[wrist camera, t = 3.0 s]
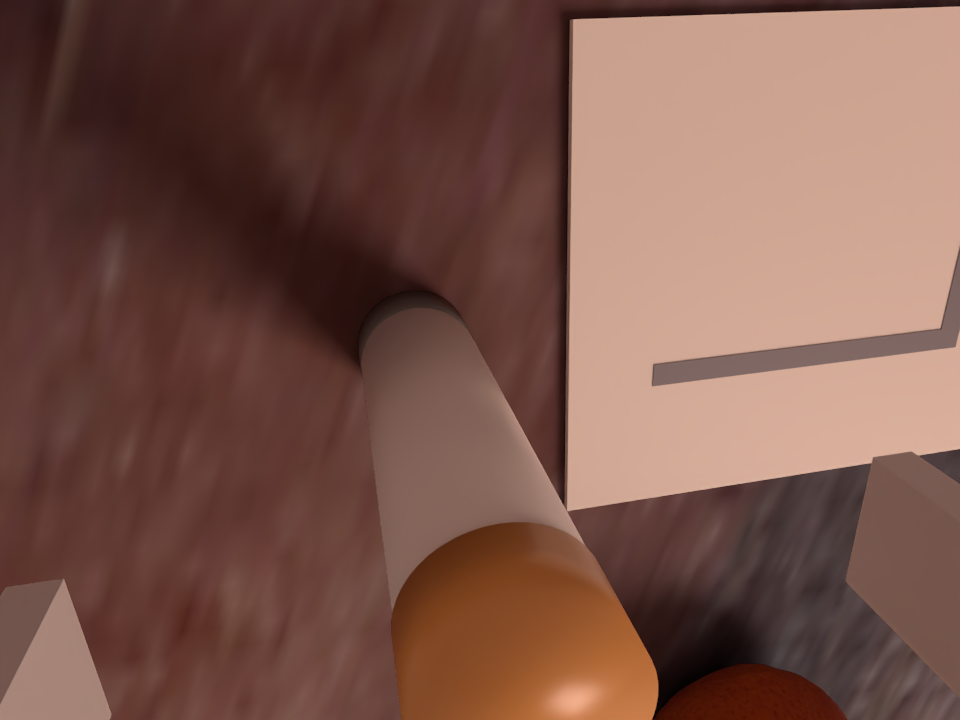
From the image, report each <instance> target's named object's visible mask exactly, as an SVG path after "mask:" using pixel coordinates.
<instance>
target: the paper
mask: <svg viewBox="0 0 960 720" xmlns="http://www.w3.org/2000/svg"><path fill="white" fill-rule="evenodd" d="M956 449H960V7H930V8H900V9H870V10H840V11H810V12H780V13H749V14H719V15H689V16H659V17H629V18H599V19H572V20H570V39H569V133H568V227H567V322H566V416H565V508H566V510H567V511H571V510H577V509H583V508H590V507H596V506H602V505H609V504H615V503H621V502H628V501H634V500H640V499H646V498H653V497H659V496H665V495H672V494H678V493H684V492H691V491H697V490H703V489H710V488H716V487H722V486H728V485H735V484H741V483H747V482H754V481H760V480H766V479H773V478H779V477H785V476H792V475H798V474H804V473H810V472H817V471H823V470H829V469H836V468H842V467H848V466H855V465H861V464H867V463H872V459H873V457H878V456H884V455H891V454H898V453H904V452H911V451H912V452H913V453H915V454H916V455H924V454H930V453H937V452H943V451H949V450H956Z"/></svg>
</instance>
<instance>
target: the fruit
mask: <svg viewBox="0 0 960 720" xmlns="http://www.w3.org/2000/svg"><path fill="white" fill-rule="evenodd" d="M653 720H847V718H846V716H845V715H844V713H843V712H842V711H841V709H840V708H839V707H838V705H837V704H836V703H835V702H834V701H833V700H832V699H831V698H830V697H829V696H828V695H827V694H826V693H825V692H824V691H823V690H822V689H821V688H819V687H818V686H816V685H815V684H813V683H812V682H810V681H808V680H807V679H805V678H804V677H802V676H800V675H798V674H795V673H792V672H789V671H785V670H780V669H777V668H774V667H771V666H767V665H763V664H737V665H734V666H730V667H727V668H723V669H720V670H717V671H715V672H713V673H711V674H709V675H706V676H704V677H702V678H701V679H699V680H697V681H695V682H693V683H691V684H690V685H688V686H686V687H685V688H683V689H682V690H680V691H679V692H678V693H676V694H675V695H674V696H673V697H672V698H671V699H670V700H669V701H668V702H667V703H666V704H665V705H664V706H663V707H662V709H661V710H660V711H659V712H658V713H657V715H656V716H655V718H654V719H653Z"/></svg>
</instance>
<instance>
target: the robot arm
mask: <svg viewBox="0 0 960 720" xmlns="http://www.w3.org/2000/svg"><path fill="white" fill-rule="evenodd" d="M846 582H847V583H848V584H849V585H850V586H851V587H852V588H853V589H854V590H855V592H856V593H857V594H858V595H859V596H860V597H861V598H862V599H863V600H864V601H865V602H866V603H867V604H868V605H869V606H870V607H871V608H872V609H873V610H874V611H875V612H876V613H877V614H878V615H879V616H880V617H881V618H882V619H883V620H884V621H885V622H886V623H887V624H888V625H889V626H890V627H891V628H892V629H893V630H894V631H895V632H896V633H897V634H898V635H899V636H900V637H901V638H902V639H903V640H904V641H905V643H906V644H907V645H908V646H909V647H910V648H911V649H912V650H913V651H914V652H915V653H916V654H917V655H918V656H919V657H920V658H921V659H922V660H923V661H924V662H925V663H926V664H927V665H928V666H929V667H930V668H931V669H932V670H933V671H934V672H935V673H936V674H937V675H938V676H939V677H940V678H941V679H942V680H943V681H944V682H945V683H946V684H947V685H948V686H949V687H950V688H951V689H952V690H953V691H954V692H955V694H956V695H957V696H958V697H959V698H960V484H959V483H957V482H956V481H954V480H953V479H951V478H950V477H948V476H947V475H946V474H944V473H943V472H941V471H940V470H938V469H937V468H935V467H934V466H932V465H931V464H929V463H928V462H926V461H925V460H923V459H922V458H921V457H919V456H918V455H916V454H915V453H913V452H912V451H911V452H904V453H898V454H891V455H884V456H878V457H873V459H872V464H871V468H870V473H869V477H868V482H867V486H866V491H865V495H864V500H863V504H862V509H861V513H860V518H859V522H858V527H857V532H856V536H855V541H854V545H853V550H852V554H851V559H850V563H849V568H848V572H847V577H846ZM110 717H111V712H110V709H109V706H108V703H107V700H106V697H105V695H104V692H103V689H102V686H101V683H100V680H99V678H98V675H97V672H96V669H95V666H94V663H93V660H92V658H91V655H90V652H89V649H88V646H87V643H86V641H85V638H84V635H83V632H82V629H81V626H80V623H79V621H78V618H77V615H76V612H75V609H74V606H73V604H72V601H71V598H70V595H69V592H68V589H67V586H66V584H65V581H64V579H59V580H52V581H45V582H39V583H32V584H25V585H19V586H12V587H6V588H5V590H4V591H3V593H2V595H1V596H0V720H110Z"/></svg>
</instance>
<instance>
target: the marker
mask: <svg viewBox="0 0 960 720" xmlns="http://www.w3.org/2000/svg"><path fill="white" fill-rule="evenodd" d="M358 351H359V359H360V368H361V374H362V378H363V386H364V394H365V402H366V410H367V418H368V426H369V434H370V442H371V450H372V458H373V466H374V474H375V482H376V490H377V498H378V506H379V514H380V521H381V529H382V537H383V545H384V553H385V561H386V569H387V577H388V585H389V593H390V601H391V609H392V619H391V636H392V644H393V652H394V661H395V669H396V677H397V686H398V694H399V702H400V711H401V719H402V720H652V718H653V715H654V712H655V709H656V705H657V699H658V679H657V673H656V669H655V667H654V664H653V662H652V659H651V658H650V656H649V654H648V652H647V650H646V648H645V647H644V645H643V643H642V641H641V639H640V638H639V636H638V634H637V632H636V630H635V629H634V627H633V625H632V623H631V621H630V619H629V618H628V616H627V614H626V612H625V610H624V609H623V607H622V605H621V603H620V601H619V600H618V598H617V596H616V594H615V592H614V590H613V589H612V587H611V585H610V583H609V581H608V580H607V578H606V576H605V574H604V572H603V570H602V569H601V567H600V565H599V563H598V562H597V560H596V558H595V557H594V555H593V554H592V553H591V552H590V550H589V549H588V548H587V547H586V546H585V544H584V542H583V540H582V539H581V537H580V535H579V533H578V531H577V529H576V528H575V526H574V524H573V522H572V520H571V518H570V517H569V515H568V513H567V511H566V509H565V507H564V505H563V504H562V502H561V500H560V498H559V496H558V494H557V493H556V491H555V489H554V487H553V485H552V483H551V482H550V480H549V478H548V476H547V474H546V472H545V471H544V469H543V467H542V465H541V463H540V461H539V460H538V458H537V456H536V454H535V452H534V450H533V449H532V447H531V445H530V443H529V441H528V439H527V438H526V436H525V434H524V432H523V430H522V428H521V426H520V425H519V423H518V421H517V419H516V417H515V415H514V414H513V412H512V410H511V408H510V406H509V404H508V403H507V401H506V399H505V397H504V395H503V393H502V392H501V390H500V388H499V386H498V384H497V382H496V381H495V379H494V377H493V375H492V373H491V371H490V370H489V368H488V366H487V364H486V362H485V360H484V359H483V357H482V355H481V353H480V351H479V349H478V348H477V346H476V344H475V342H474V339H473V337H472V335H471V333H470V331H469V330H468V328H467V326H466V324H465V322H464V320H463V319H462V317H461V315H460V314H459V312H458V311H457V310H456V308H455V307H454V306H453V305H452V304H450V303H449V302H448V301H446V300H445V299H443V298H442V297H440V296H438V295H435V294H432V293H428V292H424V291H407V292H401V293H398V294H395V295H392V296H390V297H388V298H386V299H384V300H383V301H381V302H380V303H379V304H377V305H376V306H375V307H374V308H373V309H372V310H371V311H370V313H369V314H368V315H367V316H366V318H365V320H364V322H363V324H362V326H361V329H360V333H359V338H358Z"/></svg>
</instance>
